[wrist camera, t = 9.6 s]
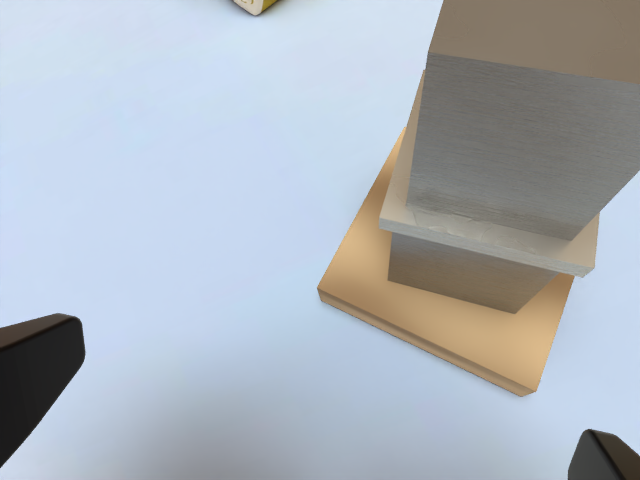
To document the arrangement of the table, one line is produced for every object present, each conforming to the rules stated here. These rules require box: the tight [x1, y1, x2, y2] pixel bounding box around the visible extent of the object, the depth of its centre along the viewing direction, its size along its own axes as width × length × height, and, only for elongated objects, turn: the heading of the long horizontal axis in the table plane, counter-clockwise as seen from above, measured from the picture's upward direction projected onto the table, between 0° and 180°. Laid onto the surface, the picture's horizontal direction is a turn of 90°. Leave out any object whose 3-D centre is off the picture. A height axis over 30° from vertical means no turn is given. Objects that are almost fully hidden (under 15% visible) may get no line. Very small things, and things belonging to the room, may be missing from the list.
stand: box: [317, 127, 574, 397], centre depth 22 cm, size 10×10×2 cm
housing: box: [379, 0, 640, 314], centre depth 15 cm, size 6×6×13 cm
